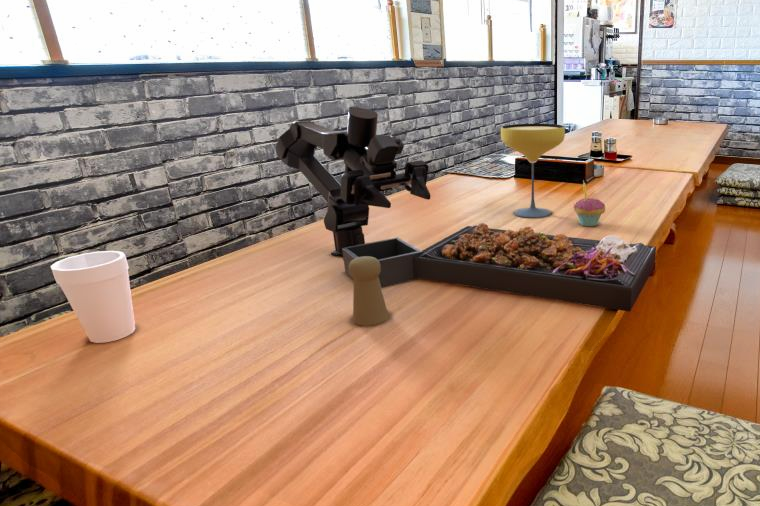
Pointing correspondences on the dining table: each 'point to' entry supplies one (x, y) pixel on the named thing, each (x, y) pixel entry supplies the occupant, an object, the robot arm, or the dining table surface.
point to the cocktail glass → (532, 151)
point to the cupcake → (589, 210)
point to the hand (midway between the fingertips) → (410, 201)
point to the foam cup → (98, 293)
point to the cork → (367, 292)
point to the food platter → (541, 265)
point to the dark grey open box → (386, 259)
